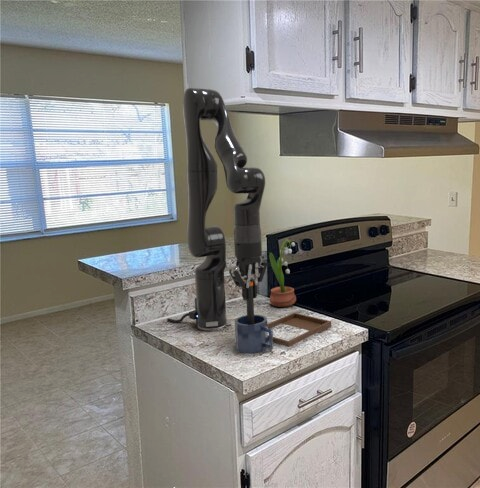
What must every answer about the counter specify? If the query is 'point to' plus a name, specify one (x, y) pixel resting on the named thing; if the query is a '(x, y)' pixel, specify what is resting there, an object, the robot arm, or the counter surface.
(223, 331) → the counter surface
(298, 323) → the tray
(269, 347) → the mug
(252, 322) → the marker
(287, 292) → the potted flower
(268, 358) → the counter surface
